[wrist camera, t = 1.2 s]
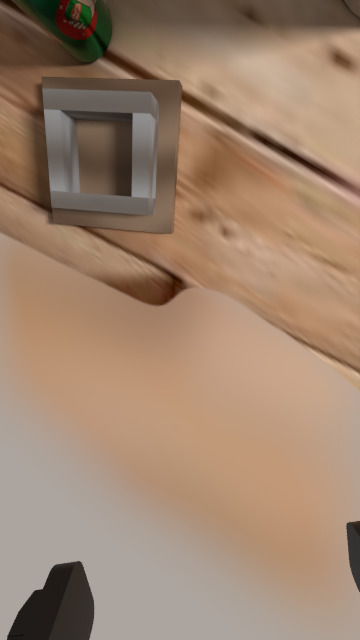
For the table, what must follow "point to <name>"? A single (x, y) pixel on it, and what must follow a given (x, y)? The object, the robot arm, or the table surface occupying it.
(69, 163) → the grey hollow square frame
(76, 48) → the soda can
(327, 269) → the table surface
